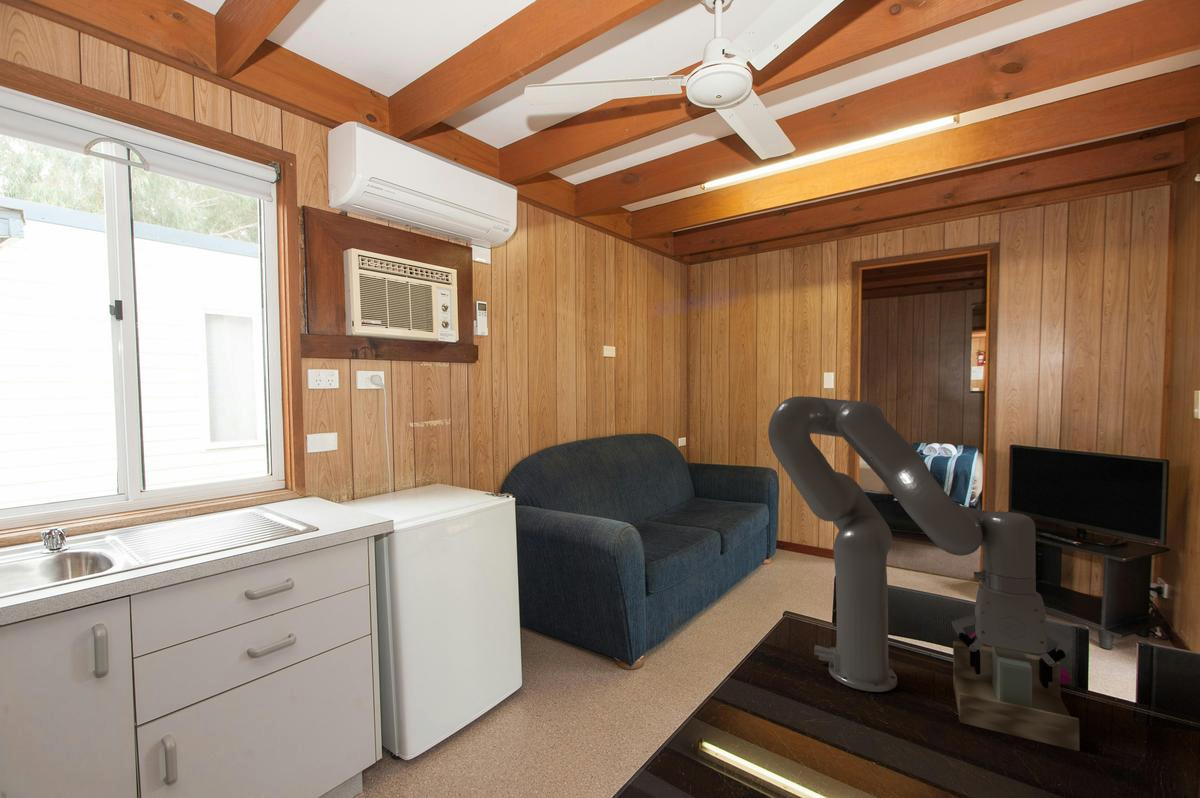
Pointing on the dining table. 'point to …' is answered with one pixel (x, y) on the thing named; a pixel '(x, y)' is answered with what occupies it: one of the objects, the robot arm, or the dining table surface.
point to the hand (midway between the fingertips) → (1009, 677)
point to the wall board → (985, 711)
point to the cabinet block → (1012, 677)
